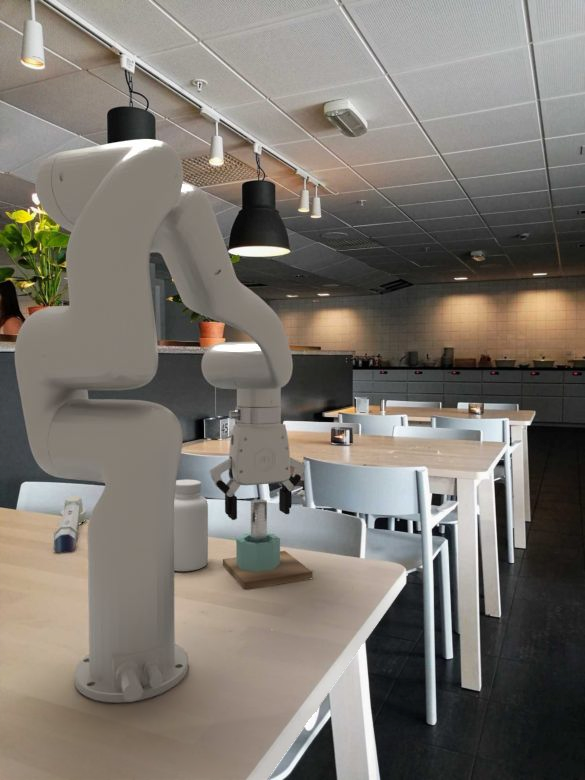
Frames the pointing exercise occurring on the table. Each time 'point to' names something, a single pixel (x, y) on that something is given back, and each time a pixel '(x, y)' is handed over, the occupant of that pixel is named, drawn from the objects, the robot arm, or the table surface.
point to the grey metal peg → (258, 521)
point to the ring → (257, 553)
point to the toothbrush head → (69, 524)
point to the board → (269, 572)
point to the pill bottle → (190, 526)
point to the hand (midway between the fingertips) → (258, 515)
